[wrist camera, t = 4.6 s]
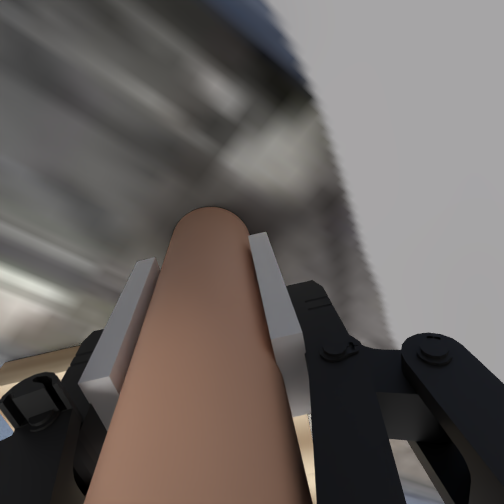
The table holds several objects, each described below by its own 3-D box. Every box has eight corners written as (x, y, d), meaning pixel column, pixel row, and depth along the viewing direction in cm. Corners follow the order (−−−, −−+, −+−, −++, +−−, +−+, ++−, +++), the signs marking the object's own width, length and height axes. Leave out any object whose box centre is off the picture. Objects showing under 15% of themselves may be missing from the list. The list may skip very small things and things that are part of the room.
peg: (160, 217, 17) (-103, 770, 3) (241, 198, 17) (352, 666, 3) (184, 286, 18) (87, 844, 5) (257, 269, 18) (376, 779, 5)
